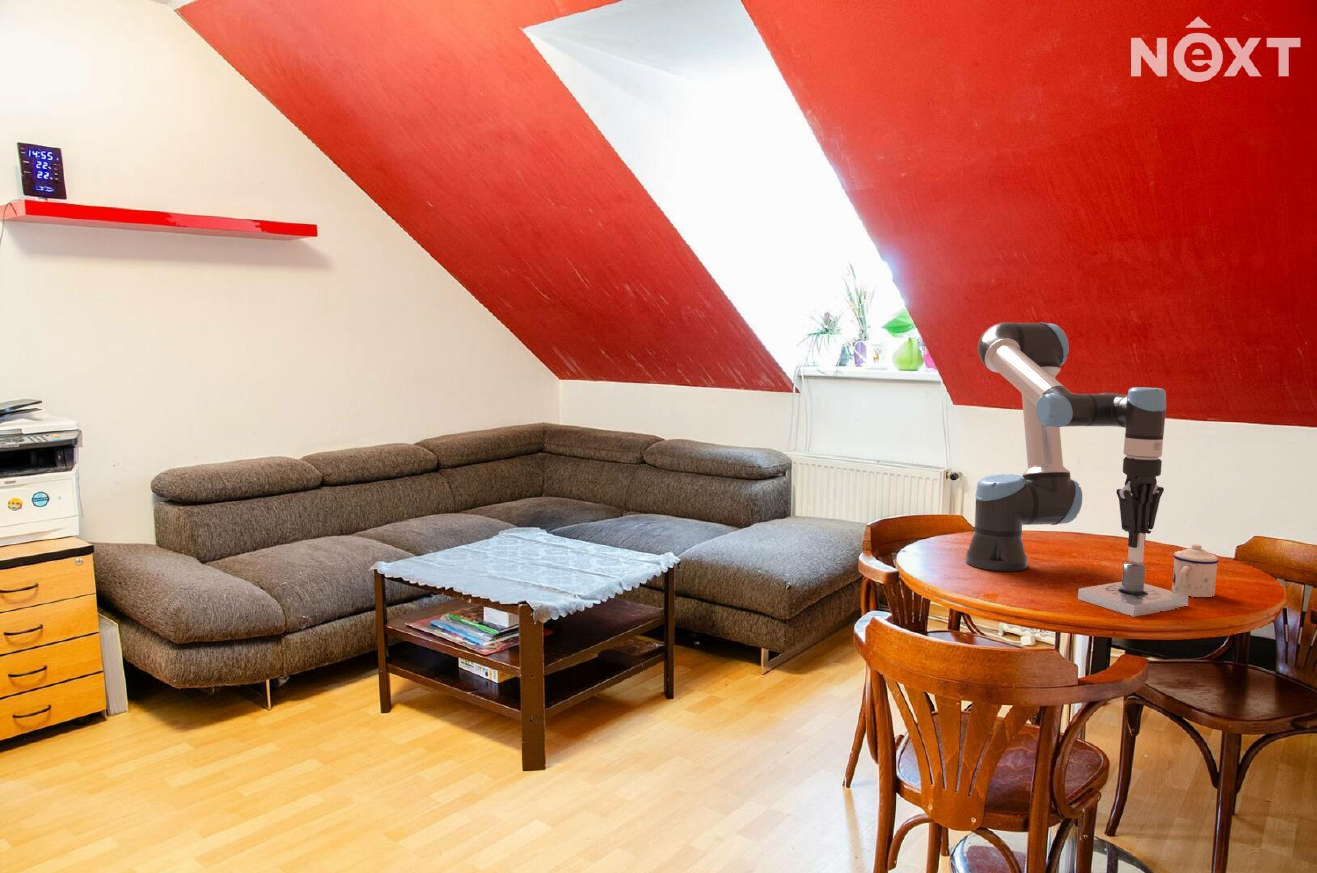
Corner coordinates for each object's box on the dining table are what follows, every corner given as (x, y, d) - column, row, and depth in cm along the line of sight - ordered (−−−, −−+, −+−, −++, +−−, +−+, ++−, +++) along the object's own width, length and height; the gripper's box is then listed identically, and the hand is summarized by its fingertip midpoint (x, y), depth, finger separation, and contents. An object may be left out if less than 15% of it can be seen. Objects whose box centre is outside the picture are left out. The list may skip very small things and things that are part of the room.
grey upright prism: (1116, 601, 204) (1118, 562, 203) (1129, 599, 206) (1132, 560, 205) (1133, 606, 200) (1136, 567, 199) (1147, 604, 202) (1149, 565, 201)
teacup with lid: (1179, 585, 217) (1183, 538, 216) (1221, 594, 210) (1225, 545, 209) (1159, 594, 210) (1163, 545, 208) (1202, 603, 203) (1206, 553, 201)
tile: (1077, 599, 205) (1078, 588, 205) (1130, 590, 213) (1131, 580, 213) (1133, 616, 193) (1134, 605, 192) (1187, 606, 200) (1188, 595, 200)
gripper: (1138, 460, 193) (1130, 568, 195) (1177, 457, 198) (1170, 562, 201) (1107, 456, 199) (1100, 560, 202) (1146, 453, 205) (1139, 554, 208)
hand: (1135, 561), depth 202 cm, fingers closed
